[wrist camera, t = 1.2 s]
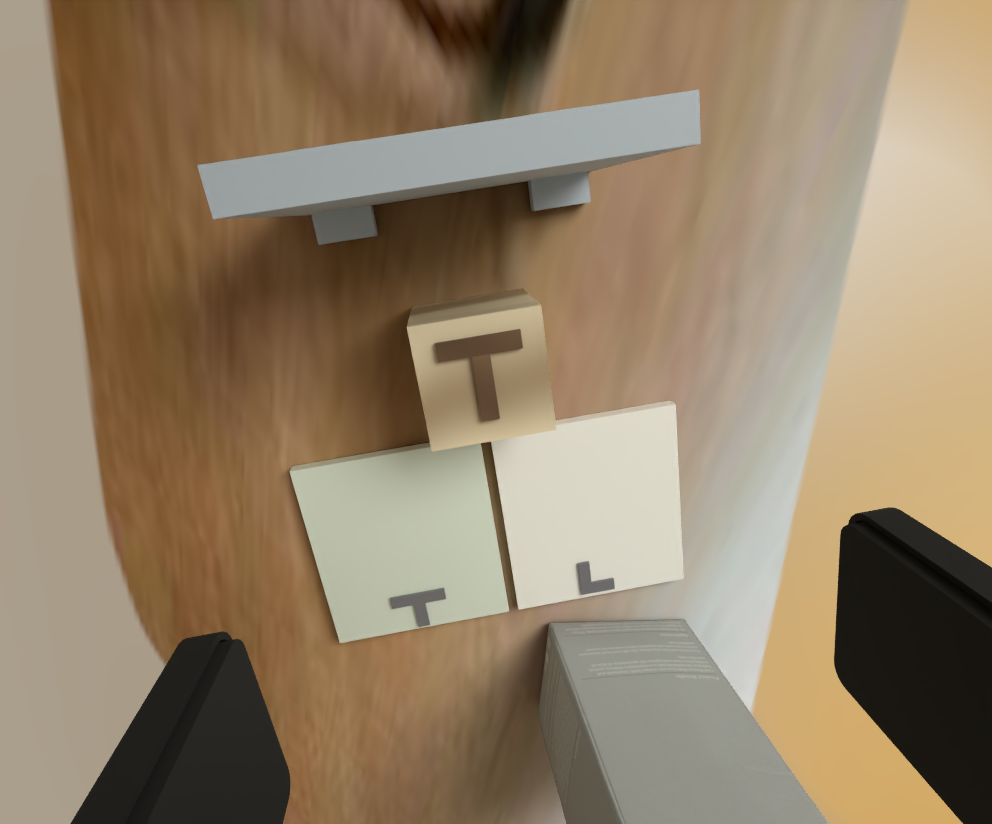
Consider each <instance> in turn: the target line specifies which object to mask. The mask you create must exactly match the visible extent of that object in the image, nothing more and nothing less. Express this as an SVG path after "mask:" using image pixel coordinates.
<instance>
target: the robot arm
mask: <svg viewBox="0 0 992 824" xmlns="http://www.w3.org/2000/svg"><path fill="white" fill-rule="evenodd" d="M839 556H840V557H839V576H838V595H837V614H836V635H835V654H834V664H835V669H836V672H837V675H838V678H839V679H840V681H841V683H842V684H843V686H844V687H845V688H846V690H847V691H848V692H849V693H850V694H851V695H852V697H853V698H854V699H855V700H856V701H857V702H858V703H859V705H860V706H861V707H862V708H863V709H864V710H865V711H866V713H867V714H868V715H869V716H870V717H871V718H872V720H873V721H874V722H875V723H876V724H877V725H878V726H879V728H880V729H881V730H882V731H883V732H884V733H885V734H886V736H887V737H888V738H889V739H890V740H891V741H892V742H893V744H894V745H895V746H896V747H897V748H898V749H899V751H900V752H901V753H902V754H903V755H904V756H905V757H906V759H907V760H908V761H909V762H910V763H911V764H912V766H913V767H914V768H915V769H916V770H917V771H918V772H919V774H920V775H921V776H922V777H923V778H924V779H925V780H926V782H927V783H928V784H929V785H930V786H931V787H932V788H933V790H934V791H935V792H936V793H937V794H938V795H939V796H940V797H941V799H942V800H943V801H944V802H945V803H946V805H947V806H948V807H949V808H950V809H951V810H952V811H953V812H954V814H955V815H956V816H957V817H958V818H959V819H960V821H961V822H963V824H992V568H991V567H990V566H988V565H987V564H985V563H984V562H982V561H980V560H979V559H977V558H976V557H974V556H972V555H971V554H969V553H968V552H966V551H964V550H963V549H961V548H960V547H958V546H957V545H955V544H953V543H952V542H950V541H949V540H947V539H945V538H944V537H942V536H941V535H939V534H937V533H936V532H934V531H933V530H931V529H930V528H928V527H926V526H925V525H923V524H921V523H920V522H918V521H917V520H915V519H914V518H912V517H910V516H909V515H907V514H906V513H904V512H903V511H901V510H899V509H896V508H884V509H878V510H873V511H868V512H862V513H857V514H855V515H853V516H852V517H851V518H850V520H849V524H848V525H846V526H844V527H843V528H842V530H841V537H840V555H839ZM289 795H290V774H289V770H288V766H287V763H286V761H285V758H284V755H283V752H282V749H281V747H280V744H279V741H278V738H277V735H276V733H275V730H274V727H273V724H272V721H271V719H270V716H269V713H268V710H267V707H266V704H265V702H264V699H263V696H262V693H261V690H260V688H259V685H258V682H257V679H256V676H255V674H254V671H253V668H252V665H251V662H250V660H249V657H248V654H247V651H246V648H245V646H244V644H243V642H242V641H241V640H240V639H235V640H232V638H231V636H230V635H229V634H228V633H227V632H218V633H212V634H207V635H201V636H196V637H191V638H186V639H184V640H182V641H181V642H180V644H179V645H178V646H177V648H176V650H175V651H174V653H173V655H172V656H171V658H170V660H169V661H168V663H167V665H166V666H165V668H164V670H163V671H162V673H161V675H160V676H159V678H158V680H157V681H156V683H155V685H154V686H153V688H152V690H151V691H150V693H149V694H148V696H147V698H146V699H145V701H144V703H143V704H142V706H141V708H140V710H139V711H138V713H137V714H136V716H135V718H134V719H133V721H132V723H131V724H130V726H129V728H128V729H127V731H126V733H125V734H124V736H123V738H122V739H121V741H120V743H119V744H118V746H117V748H116V749H115V751H114V753H113V754H112V756H111V757H110V759H109V761H108V762H107V764H106V766H105V767H104V769H103V771H102V773H101V774H100V776H99V777H98V779H97V781H96V782H95V784H94V786H93V788H92V789H91V791H90V792H89V794H88V796H87V797H86V799H85V801H84V802H83V804H82V806H81V807H80V809H79V811H78V812H77V814H76V816H75V817H74V819H73V821H72V822H71V824H283V820H284V816H285V812H286V808H287V804H288V800H289Z"/></svg>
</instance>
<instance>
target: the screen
mask: <svg viewBox="0 0 992 824" xmlns="http://www.w3.org/2000/svg"><path fill="white" fill-rule="evenodd" d="M697 144H701V142H700V105H699V90H693V91H687V92H680V93H673V94H667V95H660V96H653V97H647V98H640V99H634V100H627V101H620V102H614V103H607V104H600V105H594V106H587V107H578V108H571V109H565V110H558V111H552V112H545V113H538V114H532V115H525V116H521V117H514V118H508V119H501V120H494V121H488V122H481V123H474V124H468V125H461V126H454V127H448V128H441V129H435V130H428V131H421V132H415V133H408V134H401V135H395V136H388V137H381V138H375V139H368V140H362V141H353V142H346V143H339V144H333V145H326V146H319V147H313V148H306V149H299V150H295V151H289V152H282V153H275V154H269V155H262V156H255V157H249V158H242V159H236V160H229V161H222V162H216V163H209V164H202V165H197V166H198V170H199V173H200V177H201V180H202V183H203V187H204V190H205V193H206V197H207V200H208V204H209V207H210V210H211V214H212V217H213V219H230V218H256V217H282V216H307V215H311V216H312V220H313V224H314V228H315V233H316V237H317V241H318V245H322V244H328V243H335V242H341V241H347V240H354V239H360V238H366V237H373V236H378V230H377V225H376V221H375V216H374V211H373V206H372V205H378V204H385V203H391V202H398V201H404V200H410V199H417V198H423V197H430V196H436V195H443V194H449V193H455V192H462V191H468V190H475V189H481V188H488V187H494V186H500V185H507V184H513V183H520V182H526V181H528V188H529V196H530V205H531V211H537V210H544V209H550V208H556V207H563V206H569V205H575V204H582V203H588V202H591V201H590V189H589V178H588V172H590V171H594V170H598V169H602V168H606V167H610V166H614V165H618V164H622V163H626V162H630V161H634V160H638V159H642V158H646V157H650V156H654V155H658V154H662V153H666V152H670V151H674V150H677V149H681V148H685V147H689V146H693V145H697Z"/></svg>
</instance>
